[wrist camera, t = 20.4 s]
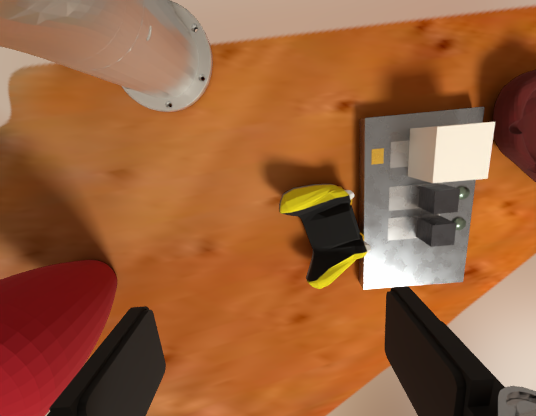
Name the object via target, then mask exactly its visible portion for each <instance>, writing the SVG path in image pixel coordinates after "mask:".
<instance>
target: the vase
mask: <svg viewBox="0 0 536 416" xmlns="http://www.w3.org/2000/svg"><path fill="white" fill-rule="evenodd" d="M116 288H117V278H116V275H115V273H114V271H113V270H112V269H111V268H110V267H109V266H108V265H107V264H105V263H103V262H101V261H97V260H82V261H73V262H66V263H59V264H54V265H49V266H45V267H41V268H37V269H33V270H29V271H26V272H23V273H19V274H16V275H13V276H10V277H7V278H4V279H1V280H0V416H45V415H46V414H47V413H48V412H49V410H50V409H49V408H50V407H51V405H52V404H53V403H54V402H55V400H56V399H57V398H58V397H59V395H60V394H61V393H62V392H63V391H64V389H65V388H66V387H67V386H68V384H69V383H70V382H71V381H72V379H73V378H74V377H75V376H76V375H77V373H78V372H79V371H80V370H81V368H82V367H83V365H84V364H85V362H86V360H87V359H88V357H89V355H90V354H91V352H92V350H93V348H94V347H95V345H96V343H97V341H98V339H99V337H100V335H101V333H102V330H103V328H104V326H105V324H106V321H107V319H108V316H109V313H110V311H111V307H112V304H113V300H114V297H115V292H116Z"/></svg>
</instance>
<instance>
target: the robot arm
mask: <svg viewBox="0 0 536 416" xmlns="http://www.w3.org/2000/svg"><path fill="white" fill-rule="evenodd" d="M195 29H198V31H197V32H195ZM0 46H1V47H5V48H10V49H14V50H17V51H21V52H24V53H28V54H31V55H34V56H37V57H40V58H44V59H47V60H49V61H52V62H55V63H58V64H61V65H64V66H66V67H69V68H72V69H75V70H78V71H80V72H83V73H86V74H89V75H92V76H95V77H98V78H101V79H103V80H106V81H109V82H112V83H115V84H118V85H121V86H122V88H123V89H124V90H125V92H126V93H127V94H128V95H129V96H130V97H131V98H132V99H134V100H135V101H137V102H138V103H139V104H141V105H143V106H145V107H147V108H149V109H153V110H156V111H162V112H175V111H179V110H183V109H185V108H187V107H189V106H191V105H192V104H194V103H195V102H196V101H197V100H198V99H199V98H200V97H201V96H202V95H203V93H204V92H205V90H206V88H207V86H208V84H209V81H210V78H211V74H212V66H213V62H212V51H211V47H210V43H209V41H208V38H207V36H206V33H205V32H204V30H203V28H202V26H201V25H200V24H199V22H198V21H197V20H196V18H195V17H194V16H193V15H192V14H191V13H190V12H189V11H188V10H187V9H185V8H184V7H182V6H181V5H179V4H177V3H175V2H172V1H170V0H0ZM203 77H205V80H204V81H202V78H203ZM170 104H172V107H170ZM385 353H386V356H387V358H388V360H389V362H390V364H391V366H392V368H393V370H394V371H395V373H396V375H397V377H398V379H399V381H400V383H401V385H402V386H403V388H404V390H405V392H406V394H407V396H408V398H409V400H410V401H411V403H412V405H413V407H414V409H415V411H416V413H417V414H418V416H536V391H533V390H529V389H527V388H524V387H516V386H510V387H504V386H503V385H502V384H501V383H500V382H499V381H498V380H497V379H496V377H495V376H494V375H493V374H492V373H491V372H490V371H489V370H488V369H487V368H486V367H485V366H484V365H483V364H482V363H481V362H480V360H479V359H478V358H477V357H476V356H475V355H474V354H473V353H472V352H471V351H470V350H469V349H468V348H467V347H466V346H465V345H464V343H463V342H462V341H461V340H460V339H459V338H458V337H457V336H456V335H455V334H454V333H453V332H452V331H451V330H450V329H449V328H448V327H447V325H446V324H444V323H443V322H442V321H440V320H439V319H438V318H437V317H436V316H435V315H434V313H433V312H432V311H431V310H430V309H429V308H428V307H427V306H426V305H425V304H424V303H423V302H422V301H421V300H420V298H419V297H418V296H417V295H416V294H415V293H414V292H413V291H412V290H411V289H410V288H409V287H407V286H404V287H392V288H391V291H390V292H387V295H386V324H385ZM165 367H166V364H165V359H164V355H163V351H162V347H161V343H160V339H159V335H158V331H157V326H156V322H155V318H154V314H153V311H152V310H149V308H148V307H146V306H145V307H133V308H130V309H129V310H128V312H127V313H126V314H125V315H124V317H123V318H122V319H121V320H120V322H119V323H118V324H117V325H116V326H115V328H114V329H113V330H112V331H111V333H110V334H109V335H108V336H107V338H106V339H105V340H104V341H103V342H102V344H101V345H100V346H99V347H98V349H97V350H96V351H95V352H94V354H93V355H92V356H91V357H90V359H89V360H88V361H87V362H86V363H85V365H84V366H83V367H82V368H81V370H80V371H79V372H78V373H77V375H76V376H75V377H74V378H73V379H72V381H71V382H70V383H69V384H68V386H67V387H66V388H65V389H64V391H63V392H62V393H61V394H60V395H59V397H58V398H57V399H56V400H55V402H54V403H53V404H52V405H51V407H50V408H49V409H50V412H49V414H48V415H47V416H146V414H147V411H148V409H149V407H150V405H151V402H152V400H153V398H154V396H155V393H156V391H157V389H158V387H159V384H160V382H161V380H162V377H163V375H164V373H165Z"/></svg>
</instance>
